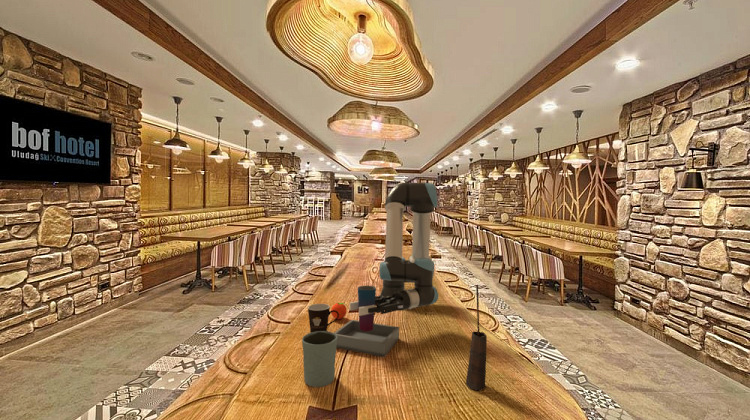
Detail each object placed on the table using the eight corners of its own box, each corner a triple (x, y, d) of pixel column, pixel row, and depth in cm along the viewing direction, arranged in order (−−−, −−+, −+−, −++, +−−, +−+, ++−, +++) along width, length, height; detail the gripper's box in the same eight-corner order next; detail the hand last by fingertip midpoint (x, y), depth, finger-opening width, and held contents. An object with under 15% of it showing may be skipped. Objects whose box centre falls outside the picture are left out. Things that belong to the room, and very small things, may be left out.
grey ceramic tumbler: (305, 391, 84) (305, 347, 84) (298, 373, 93) (298, 333, 93) (341, 383, 88) (341, 341, 88) (331, 367, 97) (332, 328, 97)
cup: (366, 323, 119) (367, 284, 119) (379, 328, 114) (379, 287, 114) (353, 328, 114) (353, 287, 114) (365, 333, 110) (366, 291, 110)
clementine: (346, 315, 144) (346, 299, 144) (350, 320, 138) (350, 304, 138) (329, 316, 142) (329, 301, 142) (332, 322, 135) (332, 305, 135)
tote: (351, 330, 126) (351, 319, 126) (398, 338, 118) (399, 327, 118) (331, 346, 111) (331, 334, 111) (384, 357, 103) (384, 343, 103)
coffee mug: (303, 333, 122) (303, 308, 122) (316, 326, 130) (317, 302, 130) (327, 339, 117) (327, 313, 117) (340, 331, 125) (340, 306, 125)
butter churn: (500, 399, 81) (501, 292, 81) (462, 395, 83) (463, 290, 82) (492, 380, 90) (493, 284, 90) (458, 377, 92) (460, 282, 92)
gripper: (421, 315, 116) (368, 328, 104) (391, 303, 132) (342, 312, 119) (421, 295, 116) (368, 305, 104) (391, 285, 132) (342, 292, 120)
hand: (354, 309), depth 112 cm, fingers closed on cup, 6 cm apart
